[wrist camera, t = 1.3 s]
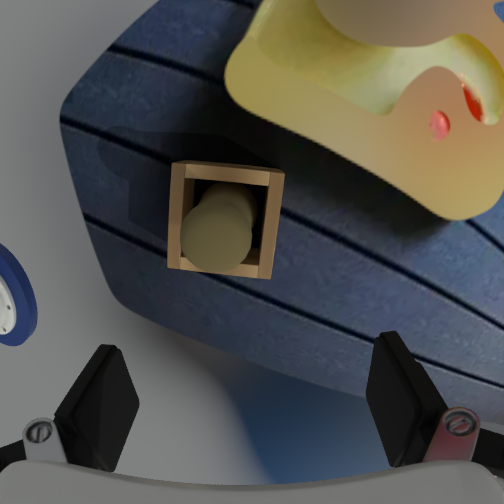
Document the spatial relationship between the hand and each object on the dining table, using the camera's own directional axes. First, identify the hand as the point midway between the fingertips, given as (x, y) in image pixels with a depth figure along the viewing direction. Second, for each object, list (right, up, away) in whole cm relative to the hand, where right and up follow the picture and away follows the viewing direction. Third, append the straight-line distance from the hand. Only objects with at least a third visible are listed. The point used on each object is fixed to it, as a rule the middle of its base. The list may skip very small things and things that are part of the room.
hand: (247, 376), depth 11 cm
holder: (-2, +8, +21) cm, 23 cm away
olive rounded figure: (-2, +9, +21) cm, 23 cm away
